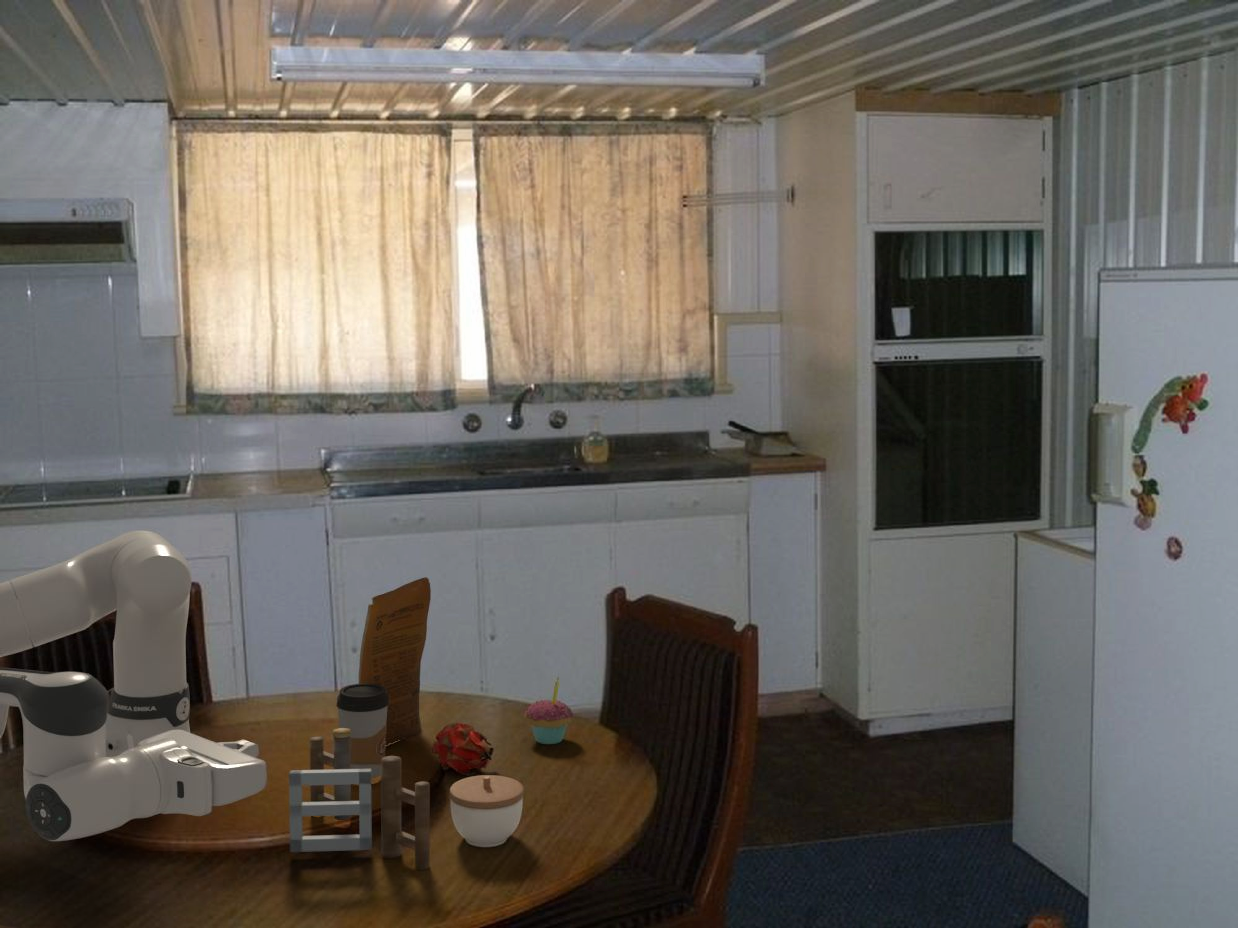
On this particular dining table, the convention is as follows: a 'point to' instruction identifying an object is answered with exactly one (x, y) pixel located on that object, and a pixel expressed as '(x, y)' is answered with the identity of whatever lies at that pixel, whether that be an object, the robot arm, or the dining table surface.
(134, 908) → the dining table surface
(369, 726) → the coffee cup
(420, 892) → the dining table surface
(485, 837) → the lidded jar
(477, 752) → the dragon fruit
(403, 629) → the pancake mix bag
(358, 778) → the gate
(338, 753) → the fence
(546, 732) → the cupcake
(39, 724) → the robot arm
